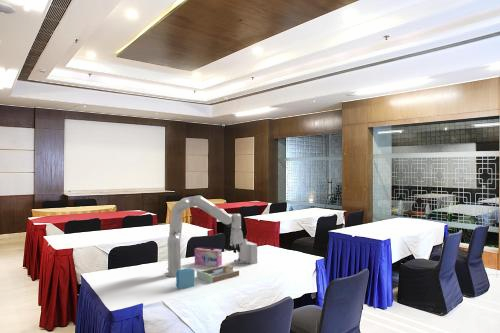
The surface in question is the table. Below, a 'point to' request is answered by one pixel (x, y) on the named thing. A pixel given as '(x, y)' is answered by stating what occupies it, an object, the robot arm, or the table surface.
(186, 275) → the data package
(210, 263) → the gum box
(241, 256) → the control panel
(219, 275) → the box
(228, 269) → the maple block
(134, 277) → the table surface
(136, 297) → the table surface
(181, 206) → the robot arm
